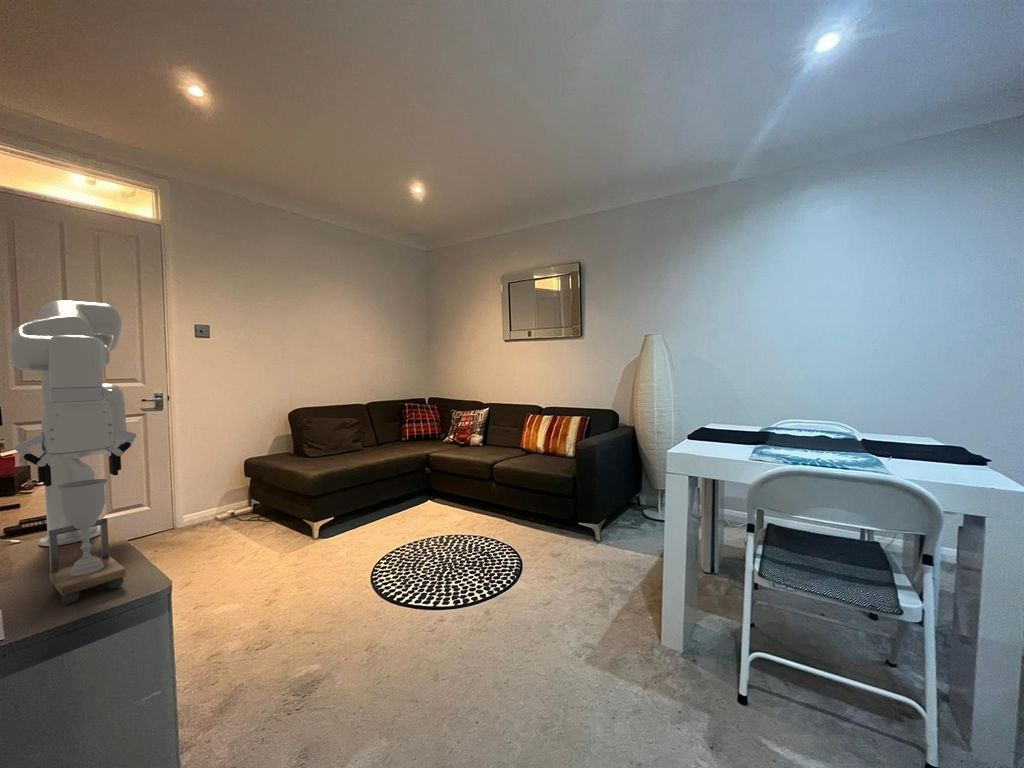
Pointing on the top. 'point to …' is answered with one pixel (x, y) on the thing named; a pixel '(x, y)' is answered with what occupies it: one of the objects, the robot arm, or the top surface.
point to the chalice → (84, 517)
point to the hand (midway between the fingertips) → (82, 479)
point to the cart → (73, 584)
